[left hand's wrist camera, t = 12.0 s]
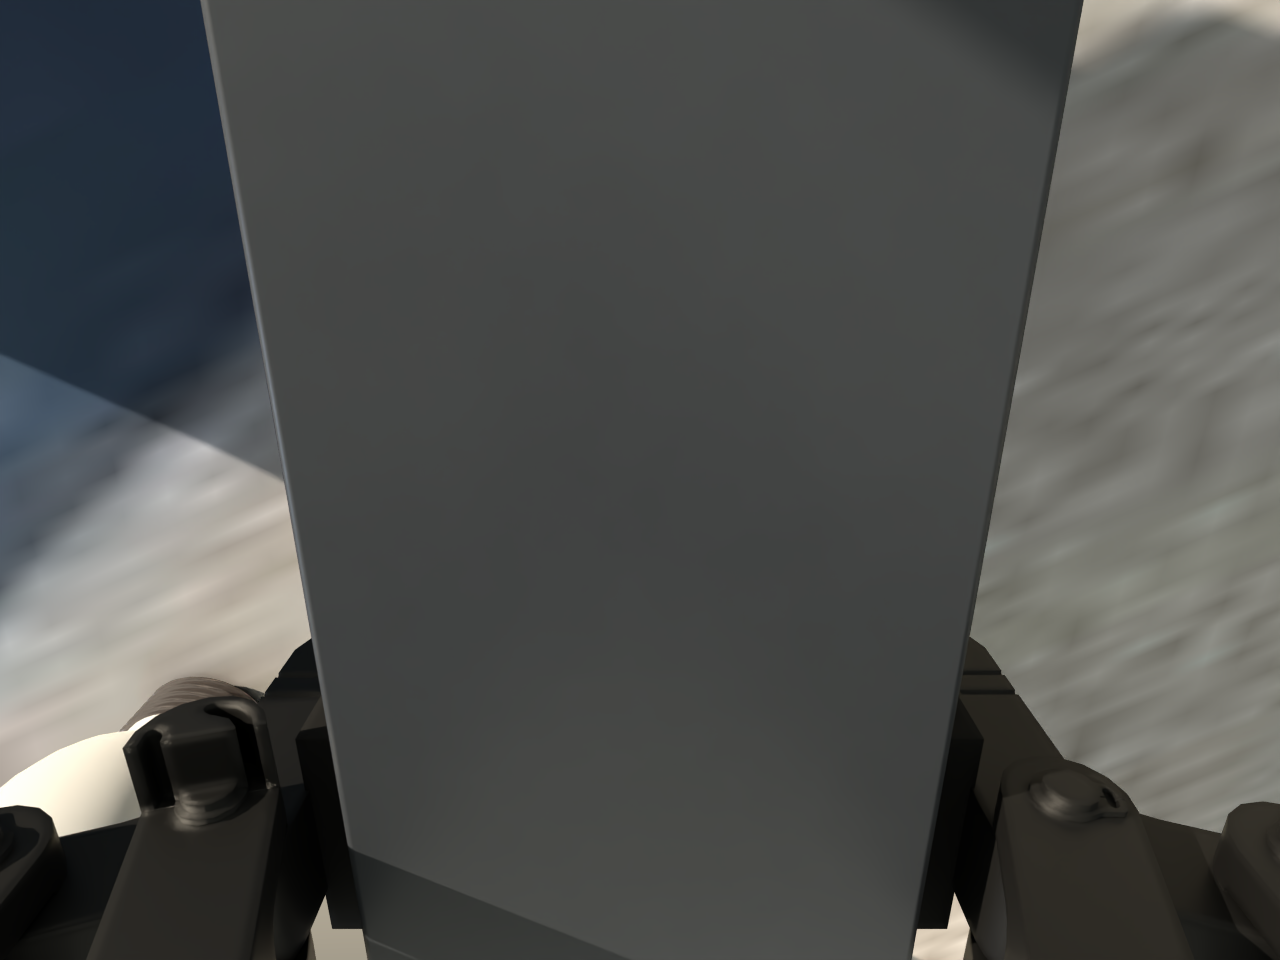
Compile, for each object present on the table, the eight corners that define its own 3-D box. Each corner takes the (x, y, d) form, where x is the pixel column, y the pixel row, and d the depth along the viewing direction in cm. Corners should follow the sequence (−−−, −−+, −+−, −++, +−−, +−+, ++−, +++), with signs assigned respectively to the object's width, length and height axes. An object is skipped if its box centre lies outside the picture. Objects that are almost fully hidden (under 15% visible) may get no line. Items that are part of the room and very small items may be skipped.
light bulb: (105, 764, 29) (-188, 1093, 19) (126, 611, 27) (-196, 891, 16) (291, 813, 30) (108, 1153, 19) (327, 668, 27) (141, 968, 17)
